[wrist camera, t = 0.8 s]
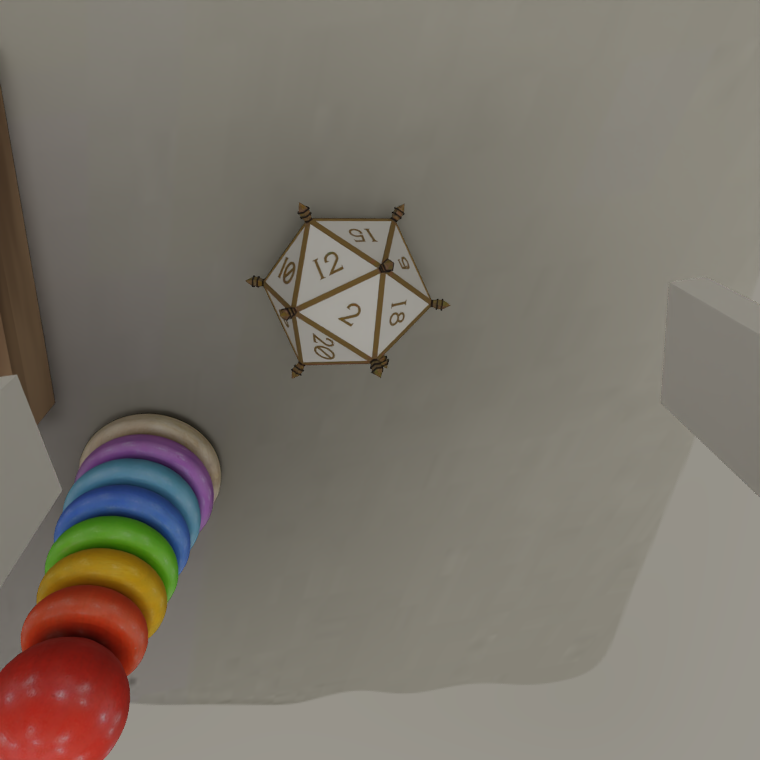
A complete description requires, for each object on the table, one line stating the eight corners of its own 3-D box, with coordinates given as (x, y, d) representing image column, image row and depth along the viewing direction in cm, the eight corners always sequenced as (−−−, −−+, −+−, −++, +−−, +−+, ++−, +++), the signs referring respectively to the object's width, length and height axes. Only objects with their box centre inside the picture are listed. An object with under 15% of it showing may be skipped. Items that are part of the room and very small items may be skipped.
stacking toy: (63, 423, 37) (-144, 710, 20) (200, 394, 37) (106, 656, 21) (113, 532, 41) (-28, 855, 24) (239, 505, 41) (186, 808, 24)
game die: (366, 275, 39) (426, 417, 35) (225, 281, 36) (270, 440, 31) (420, 152, 32) (503, 308, 28) (251, 142, 29) (314, 321, 24)
